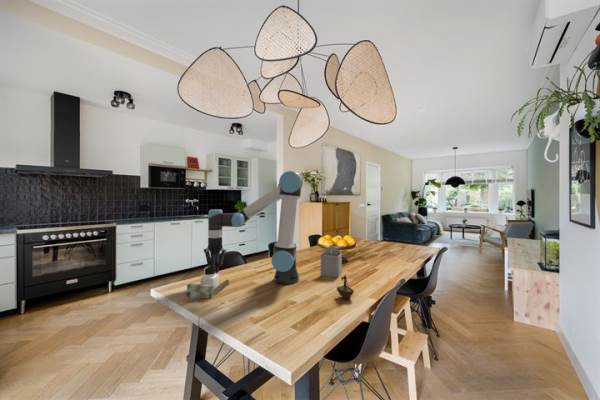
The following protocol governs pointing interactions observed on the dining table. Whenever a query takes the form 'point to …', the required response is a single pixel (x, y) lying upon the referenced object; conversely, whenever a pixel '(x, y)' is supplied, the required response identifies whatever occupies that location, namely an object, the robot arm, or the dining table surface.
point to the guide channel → (204, 290)
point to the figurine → (345, 289)
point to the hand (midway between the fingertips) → (214, 278)
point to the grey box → (331, 262)
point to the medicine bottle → (210, 276)
